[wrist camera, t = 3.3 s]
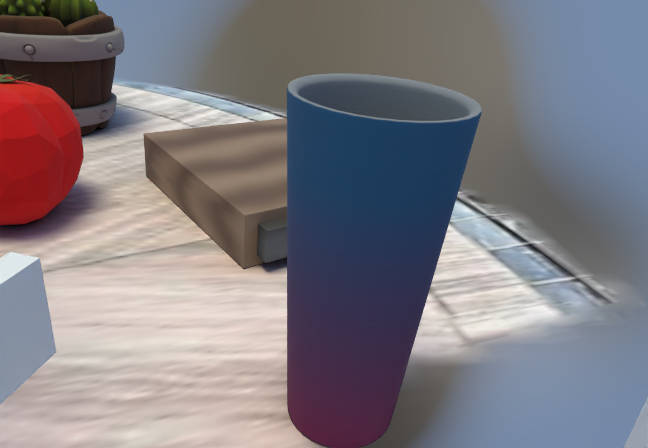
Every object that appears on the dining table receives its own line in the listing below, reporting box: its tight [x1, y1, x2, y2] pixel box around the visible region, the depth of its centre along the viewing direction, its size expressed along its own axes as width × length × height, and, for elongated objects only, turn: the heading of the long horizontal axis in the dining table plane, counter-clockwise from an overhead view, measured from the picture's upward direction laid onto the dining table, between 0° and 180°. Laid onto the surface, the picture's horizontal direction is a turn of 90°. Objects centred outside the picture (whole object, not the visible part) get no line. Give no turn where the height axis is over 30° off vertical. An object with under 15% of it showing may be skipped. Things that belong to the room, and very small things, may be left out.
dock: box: [144, 118, 287, 269], centre depth 45 cm, size 19×18×4 cm
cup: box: [287, 73, 481, 448], centre depth 22 cm, size 7×7×15 cm
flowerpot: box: [0, 0, 124, 135], centre depth 54 cm, size 14×15×20 cm
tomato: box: [0, 74, 83, 225], centre depth 38 cm, size 11×13×10 cm
